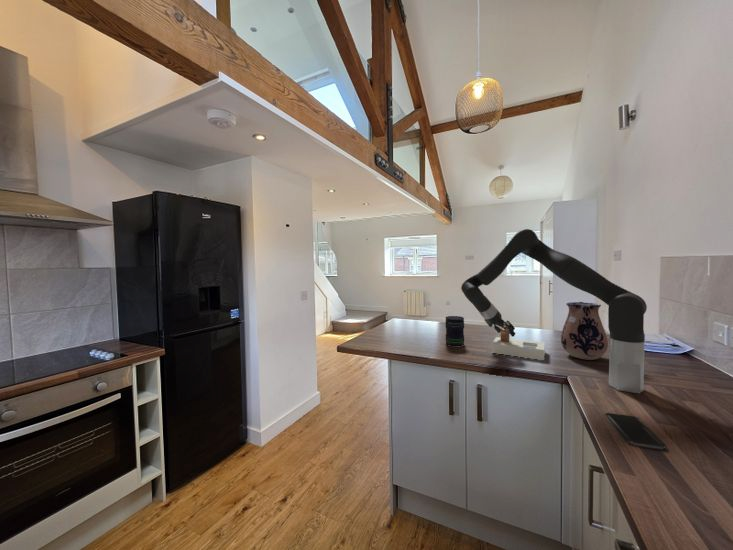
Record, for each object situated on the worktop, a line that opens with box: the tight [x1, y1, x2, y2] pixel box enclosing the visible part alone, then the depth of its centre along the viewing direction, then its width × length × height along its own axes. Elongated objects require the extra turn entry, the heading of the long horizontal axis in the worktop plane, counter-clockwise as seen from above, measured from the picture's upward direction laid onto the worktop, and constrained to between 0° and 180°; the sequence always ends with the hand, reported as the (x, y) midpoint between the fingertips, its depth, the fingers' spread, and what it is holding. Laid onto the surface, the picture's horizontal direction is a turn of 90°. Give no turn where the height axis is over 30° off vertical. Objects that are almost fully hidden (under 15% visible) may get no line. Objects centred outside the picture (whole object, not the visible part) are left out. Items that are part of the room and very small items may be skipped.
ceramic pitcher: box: [560, 301, 609, 361], centre depth 138 cm, size 18×21×25 cm
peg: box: [500, 325, 510, 342], centre depth 148 cm, size 4×4×8 cm
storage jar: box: [445, 315, 465, 347], centre depth 161 cm, size 10×10×15 cm
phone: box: [604, 412, 668, 451], centre depth 78 cm, size 8×1×15 cm
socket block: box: [491, 336, 546, 361], centre depth 145 cm, size 14×22×5 cm, turn 58°
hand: (506, 333), depth 148 cm, fingers open, 8 cm apart
